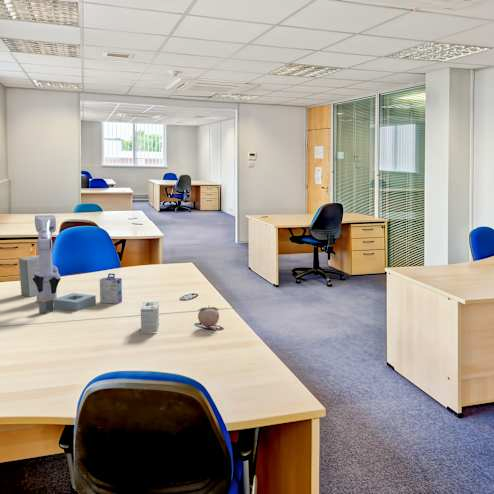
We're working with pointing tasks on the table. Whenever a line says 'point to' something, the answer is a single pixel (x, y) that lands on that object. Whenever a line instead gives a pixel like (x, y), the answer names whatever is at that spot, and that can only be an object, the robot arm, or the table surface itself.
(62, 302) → the well block
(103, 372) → the table surface
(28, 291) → the hard drive box
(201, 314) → the decorative fruit
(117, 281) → the ink cartridge box
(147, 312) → the light bulb box
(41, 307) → the two-tone metal cube
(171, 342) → the table surface
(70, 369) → the table surface
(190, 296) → the table surface
